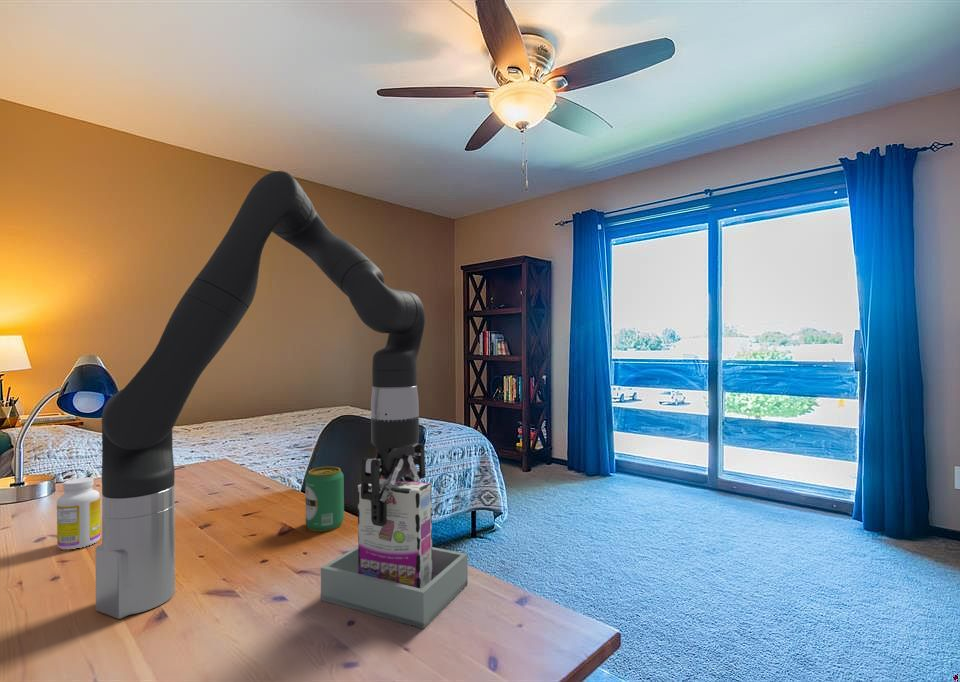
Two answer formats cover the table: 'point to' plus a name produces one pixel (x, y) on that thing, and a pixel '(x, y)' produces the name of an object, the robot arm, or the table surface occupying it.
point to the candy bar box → (398, 536)
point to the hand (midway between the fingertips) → (395, 515)
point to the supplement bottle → (78, 514)
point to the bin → (395, 588)
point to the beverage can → (324, 498)
